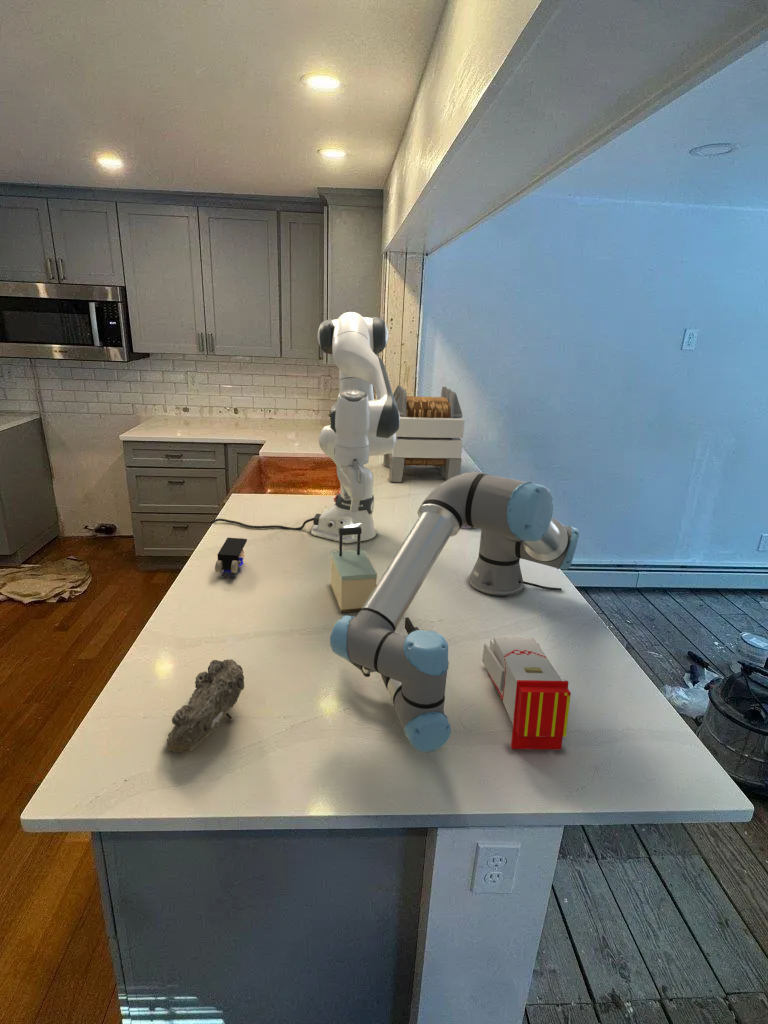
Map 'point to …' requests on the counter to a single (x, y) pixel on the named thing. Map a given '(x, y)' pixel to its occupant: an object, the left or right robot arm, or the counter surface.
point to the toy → (529, 692)
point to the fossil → (206, 705)
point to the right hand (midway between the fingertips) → (377, 625)
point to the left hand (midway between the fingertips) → (350, 505)
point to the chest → (350, 591)
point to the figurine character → (230, 556)
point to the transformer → (427, 434)
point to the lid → (352, 559)
